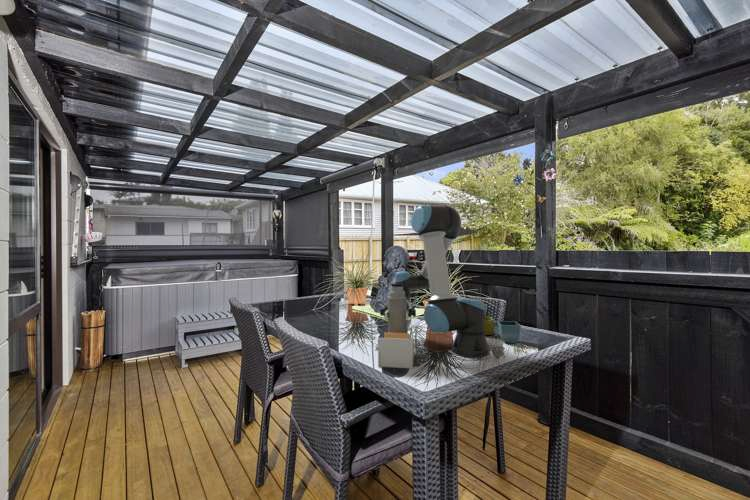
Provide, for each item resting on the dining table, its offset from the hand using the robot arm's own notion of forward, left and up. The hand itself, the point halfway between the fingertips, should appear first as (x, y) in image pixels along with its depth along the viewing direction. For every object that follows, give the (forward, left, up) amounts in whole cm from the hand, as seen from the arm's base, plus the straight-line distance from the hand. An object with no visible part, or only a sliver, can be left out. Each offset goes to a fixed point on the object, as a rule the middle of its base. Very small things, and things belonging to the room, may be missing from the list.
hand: (396, 316), depth 145 cm
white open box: (-2, +2, -17) cm, 17 cm away
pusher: (-3, +5, -16) cm, 17 cm away
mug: (-18, -56, -17) cm, 61 cm away
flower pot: (-33, -49, -17) cm, 61 cm away
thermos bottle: (+2, -4, -15) cm, 16 cm away
